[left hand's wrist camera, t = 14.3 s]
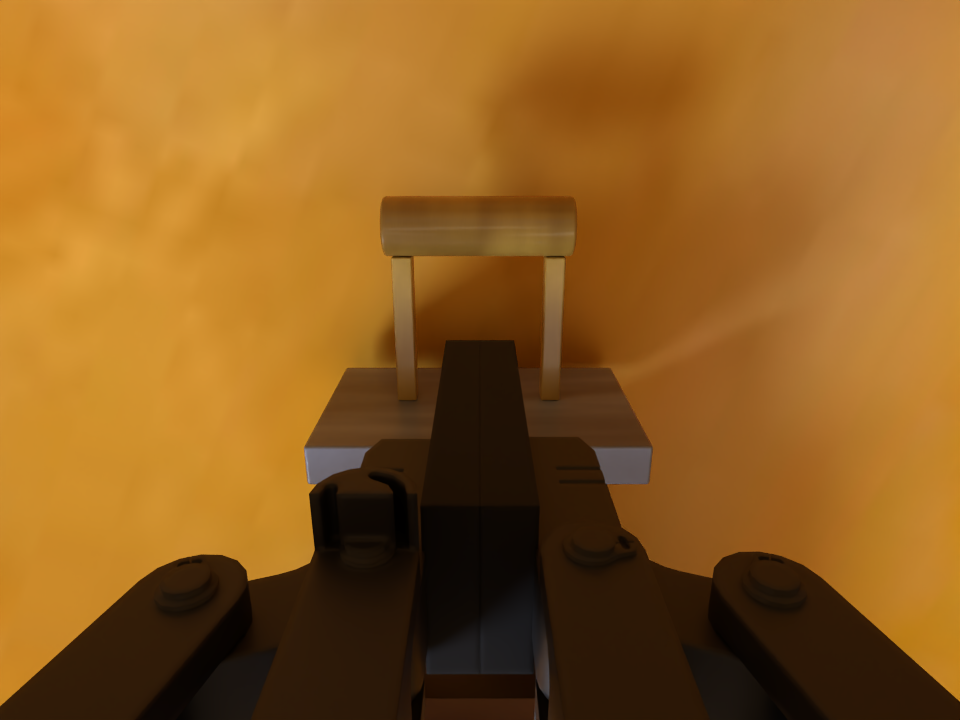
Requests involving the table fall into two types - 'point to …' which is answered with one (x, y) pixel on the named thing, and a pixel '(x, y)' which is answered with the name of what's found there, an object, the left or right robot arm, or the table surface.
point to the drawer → (413, 391)
